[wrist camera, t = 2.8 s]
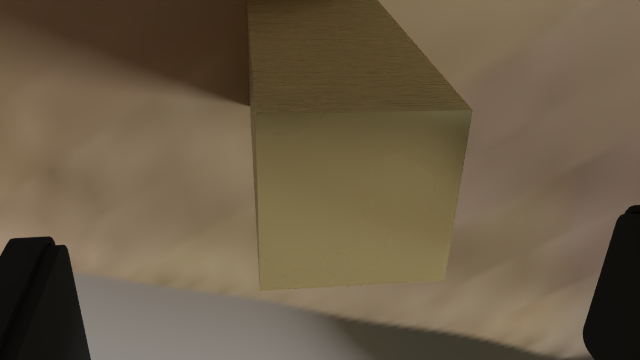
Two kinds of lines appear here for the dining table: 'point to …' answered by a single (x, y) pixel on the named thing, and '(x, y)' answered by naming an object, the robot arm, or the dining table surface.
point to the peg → (349, 147)
